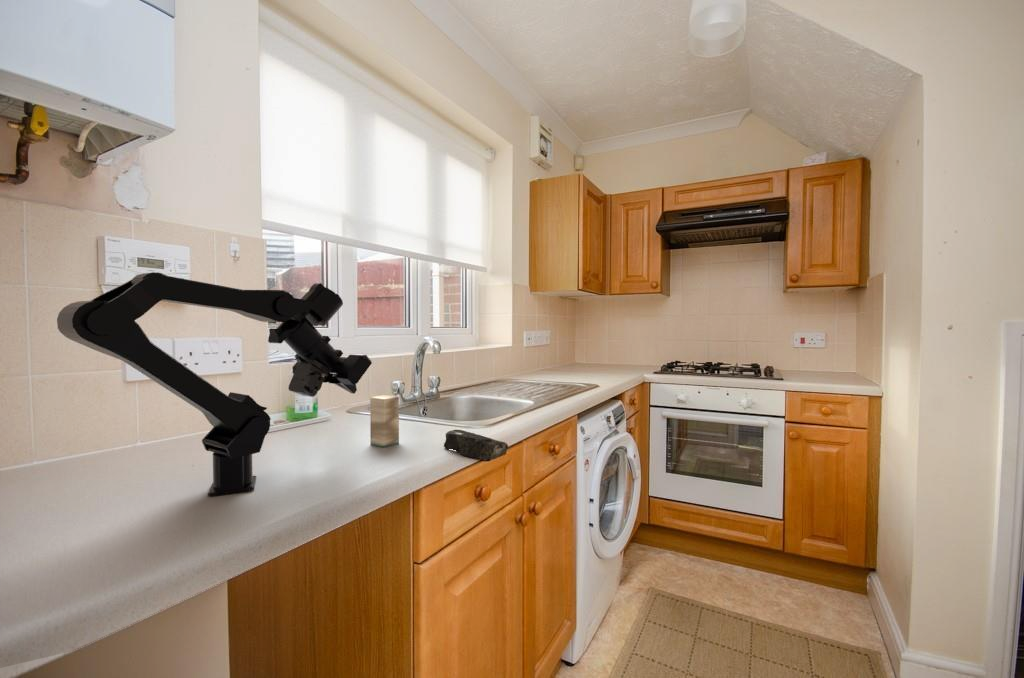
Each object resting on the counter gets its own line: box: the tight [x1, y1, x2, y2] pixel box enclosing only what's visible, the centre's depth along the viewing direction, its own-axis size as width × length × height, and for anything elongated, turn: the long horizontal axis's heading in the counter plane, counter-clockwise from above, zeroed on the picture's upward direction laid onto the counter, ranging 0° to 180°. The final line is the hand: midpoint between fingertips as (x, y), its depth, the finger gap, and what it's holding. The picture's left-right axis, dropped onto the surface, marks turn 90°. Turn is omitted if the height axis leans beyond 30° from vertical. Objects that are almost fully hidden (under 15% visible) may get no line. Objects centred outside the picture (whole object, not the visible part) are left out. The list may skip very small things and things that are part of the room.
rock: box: [443, 429, 509, 463], centre depth 100 cm, size 8×16×4 cm, turn 57°
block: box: [369, 394, 400, 449], centre depth 105 cm, size 4×4×11 cm
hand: (354, 391), depth 98 cm, fingers closed
